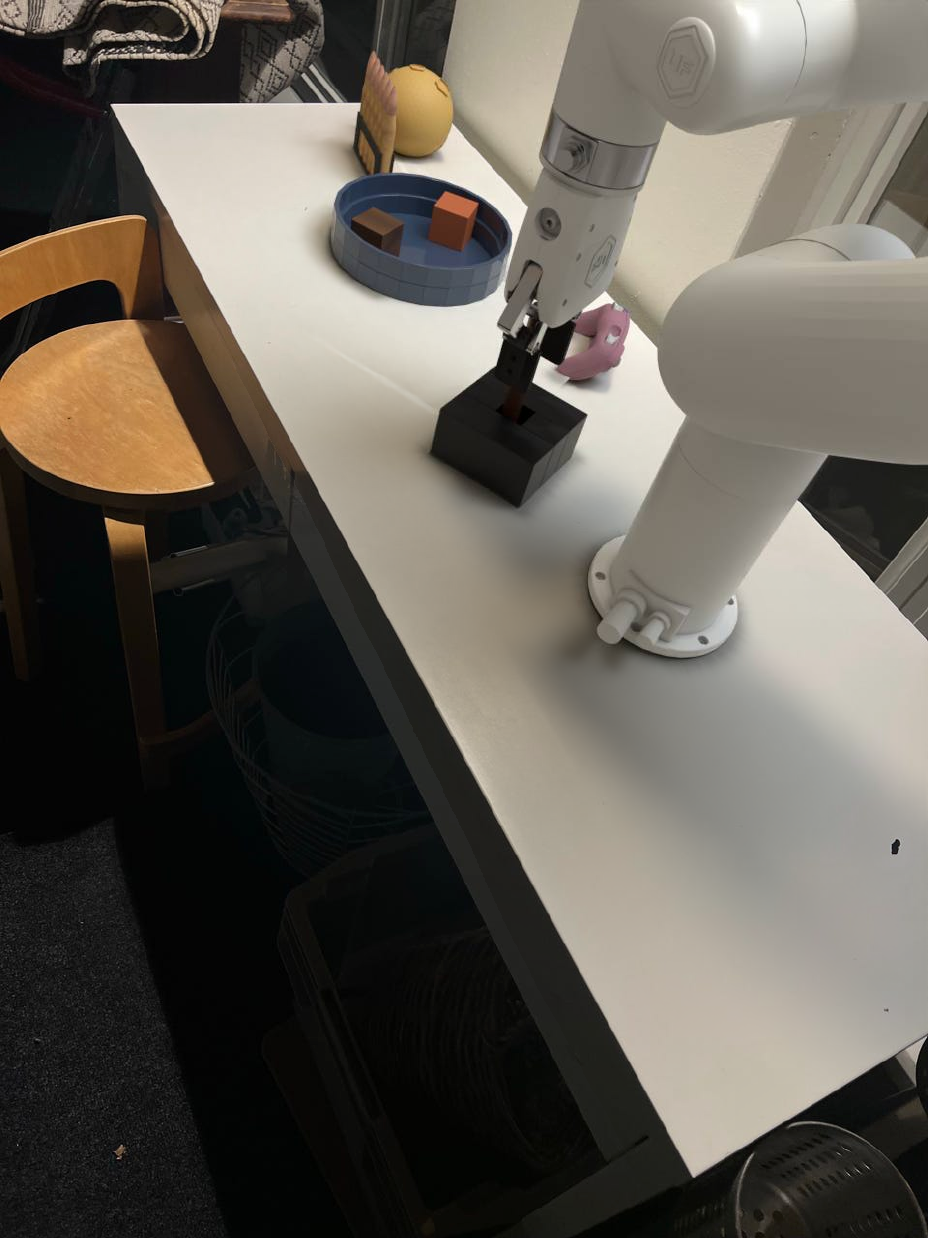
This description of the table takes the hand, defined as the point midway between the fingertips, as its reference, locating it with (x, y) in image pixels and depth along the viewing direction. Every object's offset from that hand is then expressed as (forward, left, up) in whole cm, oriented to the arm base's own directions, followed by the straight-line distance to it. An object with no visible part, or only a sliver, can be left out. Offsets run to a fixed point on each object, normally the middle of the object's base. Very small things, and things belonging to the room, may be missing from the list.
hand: (529, 368), depth 75 cm
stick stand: (0, 0, -10) cm, 10 cm away
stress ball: (+40, +40, -10) cm, 57 cm away
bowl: (+20, +24, -10) cm, 33 cm away
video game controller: (+19, +2, -10) cm, 22 cm away
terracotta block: (+26, +24, -9) cm, 36 cm away
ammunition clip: (+31, +39, -10) cm, 51 cm away
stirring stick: (0, 0, -10) cm, 10 cm away
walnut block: (+16, +27, -9) cm, 32 cm away
